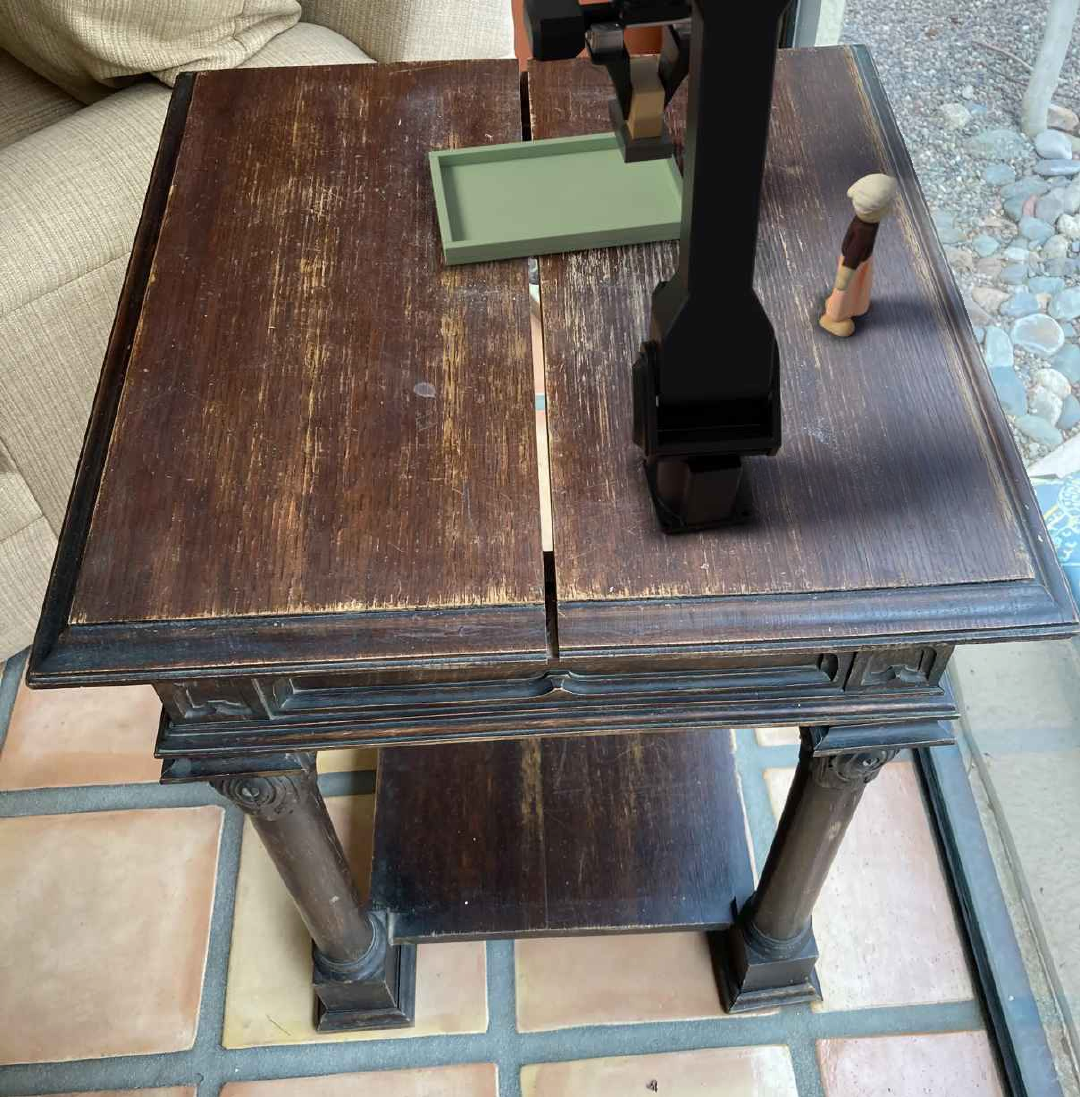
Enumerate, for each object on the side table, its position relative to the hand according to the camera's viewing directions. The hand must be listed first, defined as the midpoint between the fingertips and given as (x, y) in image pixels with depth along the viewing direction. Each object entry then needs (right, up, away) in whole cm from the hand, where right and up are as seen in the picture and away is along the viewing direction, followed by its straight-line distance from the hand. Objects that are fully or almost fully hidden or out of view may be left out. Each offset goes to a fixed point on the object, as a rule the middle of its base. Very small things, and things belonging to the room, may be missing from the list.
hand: (641, 115), depth 87 cm
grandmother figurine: (+16, -17, -3) cm, 24 cm away
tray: (-7, -5, +6) cm, 10 cm away
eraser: (0, -1, +2) cm, 2 cm away
